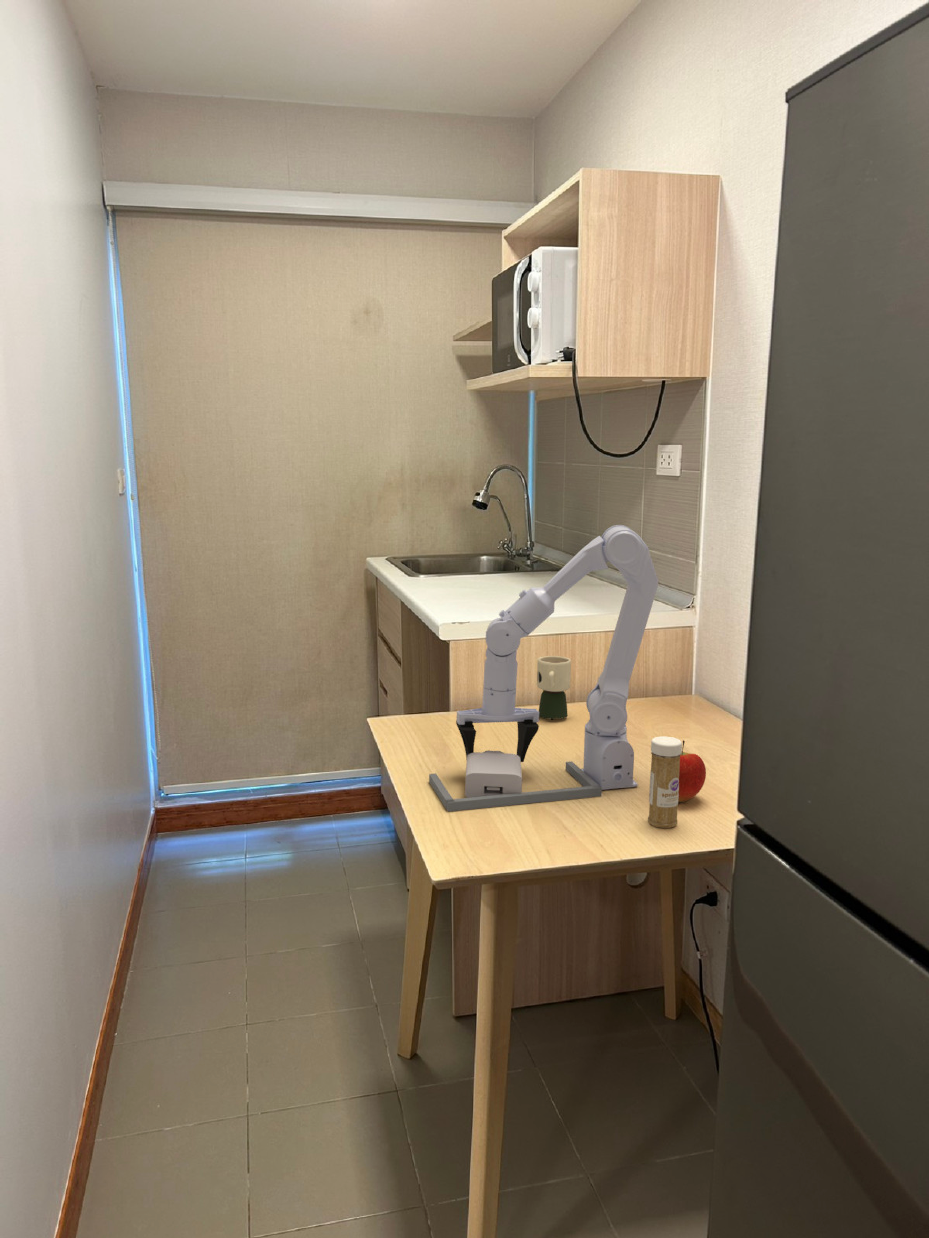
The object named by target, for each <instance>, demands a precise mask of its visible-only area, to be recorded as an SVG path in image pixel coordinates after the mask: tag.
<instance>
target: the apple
mask: <svg viewBox="0 0 929 1238" xmlns="http://www.w3.org/2000/svg"><path fill="white" fill-rule="evenodd" d="M685 742H686V741H685V740H684V739H683V740H682V752H681V754H680V767H679V796H678V803H681V802H682V803H683V802H686V801H689V800H691V799H693V798H694V797H696V796H697V795H698V794H699V793H700V791H701V790H702V788H703V786H704V785H705V781H706V777H707V769H706V765H705V764H706V763H704V760H703V759H702V758H701V756H699V755H698V754H696V753H691V752H690V753H689V752H687V751H684V746H685V744H686V743H685Z"/></svg>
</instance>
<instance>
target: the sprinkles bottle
mask: <svg viewBox="0 0 929 1238" xmlns="http://www.w3.org/2000/svg"><path fill="white" fill-rule="evenodd" d="M650 744H651V745H650V753H651V760H650V761H651V764H650V772H649V774H650V775H649V776H650V777H649V795H648V803H649V806H648V808H649V809H648V817H647V821H648V823H649V824H650V825H652V826H653V827H656V828H661V829H663V828H664V829H668V828H674V827H675V826H676V825H677V824H678V805H679V802H678V796H679V767H680V754H681V752H682V748H683V741H681V740H680V739H679V738H676V737H673V736H666V735H665V736H664V735H663V736H656V737H653V738H652V739H651V743H650Z"/></svg>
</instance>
